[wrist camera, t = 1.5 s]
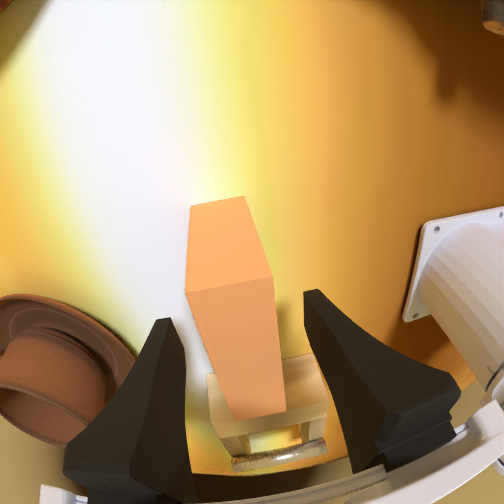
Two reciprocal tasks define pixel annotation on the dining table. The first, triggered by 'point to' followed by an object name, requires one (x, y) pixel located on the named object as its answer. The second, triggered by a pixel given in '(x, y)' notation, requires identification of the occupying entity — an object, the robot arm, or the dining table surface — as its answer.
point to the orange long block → (235, 306)
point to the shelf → (276, 418)
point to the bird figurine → (493, 15)
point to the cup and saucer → (55, 367)
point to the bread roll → (4, 4)
